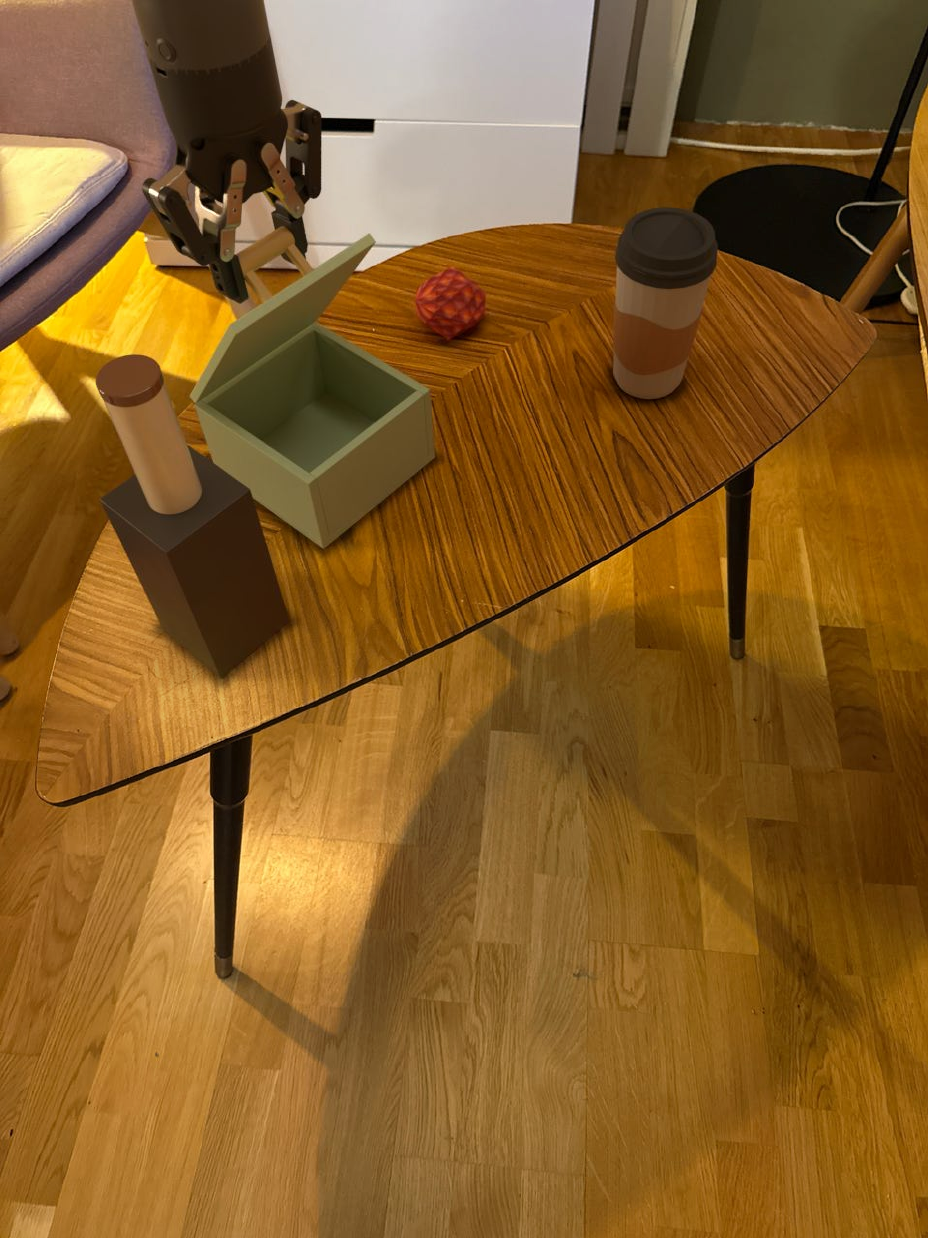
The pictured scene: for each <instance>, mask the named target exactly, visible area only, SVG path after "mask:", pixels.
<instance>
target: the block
mask: <svg viewBox="0 0 928 1238" xmlns="http://www.w3.org/2000/svg"><path fill="white" fill-rule="evenodd" d="M186 444H187V447H188V449H189V452H190V455H191V458H192V460H193V463H194V466H195V469H196V472H197V474H198V477H199V480H200V483H201V486H202V494H201V497H200V499H199V501H198V502H197V503H196V504H195V505H194V506H193V507H191V508H190V509H188V510H186V511H184V512H181V513H178V514H161V513H158V512H156V511H154V510H153V509H152V508H151V507H150V506H149V505H148V503H147V500H146V498H145V496H144V493H143V491H142V489H141V486H140V484H139V482H138V479H137V477H136V475H135V474H133V475H132V476H130V477H129V478H127V479H125V480H124V481H123V482H122V483H120V484H119V485H117V486H116V487H115V488H113V489H112V490H110V491H108V492H107V493H106V494H105V495H103V496H101V497H100V498H99V502H100V503H101V506H102V508H103V510H104V512H105V514H106V516H107V518H108V520H109V523H110V524H111V526H112V528H113V530H114V532H115V535H116V536H117V539H118V540H119V543H120V544H121V547H122V549H123V551H124V553H125V555H126V557H127V559H128V561H129V564H130V565H131V567H132V569H133V571H134V573H135V576H136V577H137V579H138V581H139V583H140V586H141V587H142V589H143V592H144V594H145V596H146V598H147V600H148V602H149V604H150V606H151V608H152V610H153V613H154V615H155V616H156V618H157V620H158V622H159V625H160V626H161V628H162V630H163V631H164V632H165V633H166V634H167V635H169V636H170V637H171V638H172V639H173V640H174V641H175V642H177V643H178V644H179V645H181V646H182V647H183V648H184V649H185V650H186V651H187V652H189V653H190V654H191V656H194V657H195V658H196V659H197V660H198V661H199V662H201V663H202V664H203V665H204V667H206V668H207V669H209V670H210V671H211V672H212V673H213V674H215V675H216V676H217V677H218V678H219V679H221V680H222V679H224V678H225V676H227V675H228V674H229V673H231V671H233V670H234V669H235V668H236V667H237V666H239V665H240V664H241V663H242V662H243V661H244V660H246V659H247V658H248V657H249V656H251V655H252V654H253V653H254V652H255V651H256V650H258V649H259V648H260V647H261V646H262V645H263V644H264V643H266V642H267V641H268V640H269V639H271V638H272V637H273V636H274V635H275V634H276V633H278V632H279V631H280V630H281V629H282V628H283V627H285V626H286V625H287V624H288V623H289V622H290V621H291V620H290V616H289V614H288V611H287V607H286V604H285V600H284V596H283V594H282V591H281V587H280V583H279V580H278V578H277V574H276V572H275V567H274V564H273V560H272V557H271V554H270V551H269V548H268V544H267V540H266V537H265V534H264V531H263V527H262V524H261V521H260V518H259V517H260V516H259V514H258V511H257V507H256V504H255V501H254V500H255V499H254V498H253V497H252V494H251V490H250V489H249V488H248V487H246V486H245V485H243V484H242V483H241V482H239V481H238V480H236V479H235V478H234V477H232V476H231V475H229V474H228V473H227V472H225V471H224V470H223V469H221V468H220V467H218V466H217V465H216V464H214V463H213V461H212V460H210V459H209V458H208V457H206V456H204V455H203V454H202V453H200V452H199V451H198V450H196V449H195V448H194V447H192V446H191V445H189V444H188V443H186Z"/></svg>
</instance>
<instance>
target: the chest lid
mask: <svg viewBox="0 0 928 1238" xmlns="http://www.w3.org/2000/svg"><path fill="white" fill-rule="evenodd" d="M376 243H377V241H376V239H375V238H374V237H373V236H372V234H371V233H367V234H366V235H364V236H363V237H361V238H360V239H358V240H356V241H355V242H354V243H352V244H350V245H349V246H347V247H346V248H344V249H342V250H341V251H340V252H338V253H337V254H335V255H334V256H332V257H330V258H329V259H327V260H326V261H324V262H323V263H322V264H320V265H319V266H317V267H316V268H313V267H312V265H311V264H310V263H309V261H307V258H306V259H305V258H304V256H303V255H302V254H301V253H300V251H299V250H298V249H297V247H296V246H295V239H294V236H293V234H292V233H291V231H290V230H289V229H288V228H287V227H285V226H281V227H279V228H278V229H276V230H275V229H274V230H273V231H271V232H270V233H268V234H266V235H265V236H263V237H261V238H260V239H258V240H257V241H255V242H253V243H252V244H250V245H248V246H247V247H245V248H243V249H242V250H240V251H239V252H237V253H236V254H235V255H237V256H238V257H239V261H240V265H241V268H242V272H243V276H244V280H245V283H247V285H248V286H249V287H250V289H251V290H252V291H253V293H254V295H256V296H257V298H258V299H259V300H260V301H261V303H260V304H258V305H257V306H256V307H254V308H253V309H251V310H250V311H248V312H246V313H245V314H244V315H242V316H240V317H239V318H238V319H236V320H235V321H233V322H231V323H230V324H229V325H228V326H227V328H226V330H225V331H224V333H223V335H222V337H221V339H220V341H219V342H218V345H217V346H216V348H215V350H214V351H213V353H212V355H211V357H210V359H209V360H208V362H207V363H206V366H205V368H204V369H203V371H202V373H201V375H200V376H199V378H198V380H197V382H196V384H195V386H194V388H193V389H192V391H191V392H190V395H189V398H190V399H191V400H192V401H193V402H194V404H196V403H198V402H199V401H201V400H202V399H204V398H205V397H207V396H208V395H210V394H211V393H212V392H214V391H215V390H217V389H218V388H220V387H221V386H223V385H224V384H226V383H227V382H229V381H230V380H231V379H233V378H234V377H236V376H237V375H239V374H240V373H242V372H243V371H245V370H246V369H247V368H249V367H250V366H252V365H253V364H255V363H256V362H258V361H259V360H261V359H262V358H264V357H265V356H266V355H268V354H269V353H271V352H272V351H274V350H275V349H277V348H278V347H280V346H281V345H282V344H284V343H285V342H287V341H288V340H290V339H291V338H293V337H294V336H296V335H297V334H299V333H300V332H301V331H303V330H304V329H306V328H307V327H309V326H310V325H312V324H313V323H315V322H318V320H319V319H320V317H321V316H322V315H323V314H324V313H325V311H326V310H327V308H328V307H329V305H331V303H332V301H333V300H334V299H335V297H336V296H337V295H338V294H339V292H340V291H341V290H342V288H343V287H344V286H345V284H346V283H347V281H348V280H349V279H350V277H351V276H352V275H353V273H355V271H356V269H357V268H358V267H359V266H360V264H361V263H362V262H363V260H364V259H365V257H366V256H367V255H368V253H369V252H370V251H371V249H372V248H374V246H375V245H376ZM284 252H285V253H286V254H287V256H288V257H289V258H290V259H291V261H292V262H293V263H294V265H293V266H295V267H296V269H297V270H298V271H299V273H300V274H301V275H302V277H300V278H299V279H297V280H296V281H293V282H292V283H290V284H289V285H288V286H286V287H285V288H283V289H281V290H280V291H278V292H277V293H275V294H274V295H273V294H272V293H271V292H270V290H269V289H268V288H267V286H266V285H265V284H264V282H263V281H262V280H261V278H259V277H260V276H258V275H257V274H256V271H258V270H259V269H260V268H262V267H264V266H266V265H267V264H268V263H270V262H272V261H273V260H275V259H277V258H278V257H281V254H283V253H284Z"/></svg>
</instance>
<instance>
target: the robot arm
mask: <svg viewBox="0 0 928 1238" xmlns="http://www.w3.org/2000/svg"><path fill="white" fill-rule="evenodd" d="M131 3H132V7H133V11H134V14H135V17H136V21H137V25H138V29H139V32H140V35H141V38H142V42H143V45H144V49H145V52H146V53H145V54H146V56H147V60H148V63H149V67H150V69H151V73H152V77H153V81H154V83H155V87H156V90H157V93H158V94H157V95H158V97H159V101H160V104H161V107H162V111H163V115H164V117H165V120H166V123H167V125H168V127H169V129H170V131H171V133H172V135H173V138H174V141H175V142H174V145H175V150H174V151H175V152H174V158H173V159H174V166H173V167H172V168H171V169H170V170H169V171H168V172H167V173H165V174H164V175H163V176H162V177H161V178H160V179H155V178H153V177H148V178H146V179H145V180H144V181H143V183H142V186H141V191H142V193H143V196H144V197H145V199H146V201H147V202H148V204H149V206H150V208H151V209H152V211H153V212H154V214H155V216H156V218H157V219H158V221H159V223H160V224H161V226H162V228H163V229H164V231H165V232H166V234H167V237H168V239H169V240H170V242H171V243H172V245H173V246H174V248H175V250H176V252H177V253H179V254H181V256H185V257H187V258H189V259H191V260H192V261H194V262H195V263H196V264H198V265H200V266H201V267H207V266H209V269H210V273H211V276H212V280H213V283H214V287H215V289H216V290H217V291H218V293H219V294H221V295H223V296H224V297H226V298H228V299H230V300H231V301H234V302H235V303H237V304H240V305H241V304H243V303H244V302H246V301H247V300H249V298H250V296H249V292H248V288H247V284H246V281H245V280H244V276H243V272H242V268H241V265H240V261H239V257H238V256H237V255H236V254H235V252H236V251H235V250H236V234H237V233H236V231H237V228H239V227H241V224H242V215H243V214H242V213H243V204H245V203H246V202H247V201H248V200H250V198H251V197H253V195H256V194H260V193H263V195H264V197H265V198H266V199H267V201H268V203H269V204H270V206H271V207H273V208H274V209H275V210H273V211H271V212H270V215H271V220H272V224H273V228H274V230H276V229H278V228H279V227H281V226H285V227H287V228H288V229H289V230H290V231H291V233H292V234H293V236H294V239H295V246H296V247H297V249H298V250H299V251H300V253H301V254H302V255H303V256H304V258H305V259H306V260H307V255H306V253H308V246H309V244H308V243H309V242H308V239H307V234H306V227H305V223H304V218H303V215H304V213H305V211H306V209H305V208H306V207H305V205H306V204H307V203H308V202H309V201H310V199H312V200H315V199H317V198H319V196H320V195H321V193H322V134H323V133H322V130H323V129H322V123H323V122H322V113H321V112H320V111H319V110H317V109H315V108H313V107H311V106H308V105H306V104H304V103H302V102H299V101H297V100H295V99H290V100H288V101H287V102H286V104H285V107H284V108H282V107H283V106H282V105H283V93H282V88H281V83H280V79H279V73H278V67H277V62H276V57H275V51H274V47H273V42H272V37H271V31H270V26H269V21H268V15H267V10H266V5H265V4H266V3H265V0H131ZM284 144H285V145H284ZM284 146H285V164H284V162H283V161H282V159H281V156H282V152H283V148H284ZM190 184H192V185H193V186H194V211H195V214H196V215H197V217H198V224H197V223H196V221H195V219H194V217H193V215H192V213H191V211H190V210H189V209H190V208H191V207H192V204H193V202H192V201H191V200H190V195H189V192H188V189H189V185H190ZM216 201H217V202H216ZM218 203H220V204H222V206H220V205H219V204H218ZM280 257H281V258H282V259H283V260H284V261H286V262H288V263H289V264H292V265H293V266H295V265H294V263H293V262H292V261H291V259H290V258H289V257H288V256H287V254H286V253H285V252H284V253H283V254H281V255H280Z"/></svg>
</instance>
